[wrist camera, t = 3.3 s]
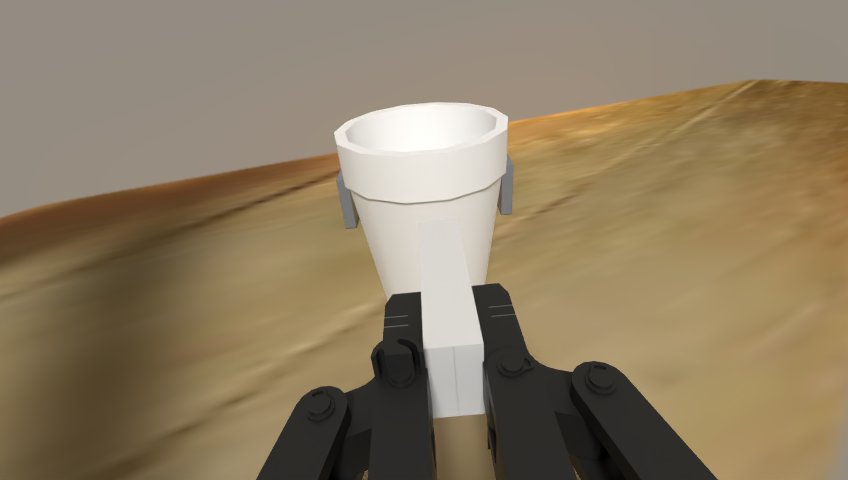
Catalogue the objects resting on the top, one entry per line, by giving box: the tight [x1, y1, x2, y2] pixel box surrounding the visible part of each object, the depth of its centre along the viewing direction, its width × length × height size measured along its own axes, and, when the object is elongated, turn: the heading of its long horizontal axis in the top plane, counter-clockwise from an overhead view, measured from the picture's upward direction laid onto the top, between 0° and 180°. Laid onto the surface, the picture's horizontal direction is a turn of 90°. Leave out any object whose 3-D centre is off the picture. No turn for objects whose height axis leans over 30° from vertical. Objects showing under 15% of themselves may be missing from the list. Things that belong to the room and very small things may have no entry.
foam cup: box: [334, 102, 508, 301], centre depth 26 cm, size 10×9×13 cm
